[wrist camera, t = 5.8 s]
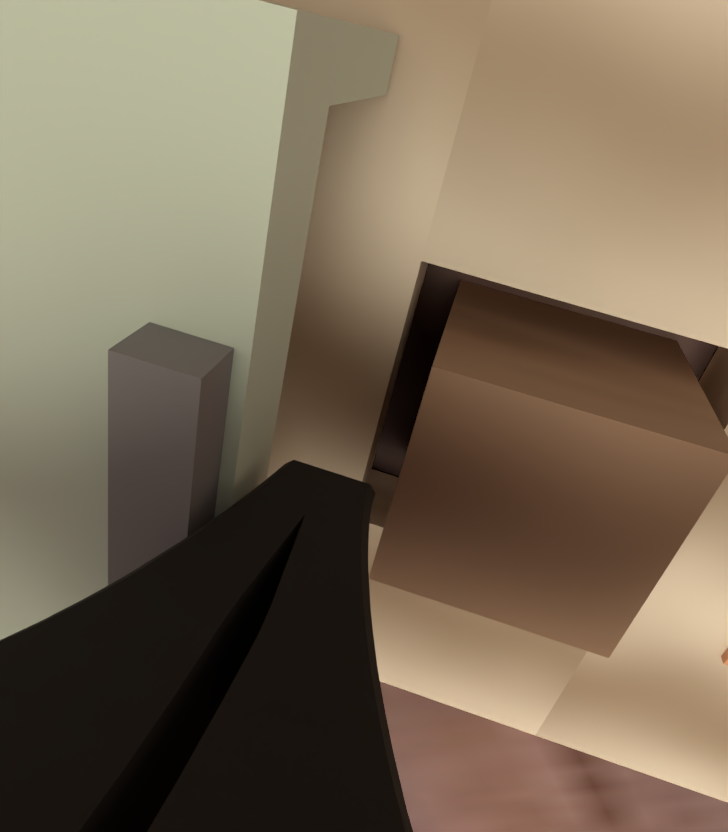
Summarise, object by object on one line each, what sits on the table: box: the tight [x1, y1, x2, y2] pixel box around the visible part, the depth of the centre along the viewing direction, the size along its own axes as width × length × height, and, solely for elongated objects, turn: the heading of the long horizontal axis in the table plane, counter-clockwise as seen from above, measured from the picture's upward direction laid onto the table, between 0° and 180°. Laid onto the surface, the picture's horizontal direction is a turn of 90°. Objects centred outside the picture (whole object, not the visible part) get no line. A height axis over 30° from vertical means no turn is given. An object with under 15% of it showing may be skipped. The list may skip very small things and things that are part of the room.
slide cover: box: [0, 0, 399, 640], centre depth 10 cm, size 12×8×6 cm, turn 167°
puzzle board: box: [264, 0, 728, 802], centre depth 13 cm, size 16×26×2 cm, turn 77°
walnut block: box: [369, 280, 728, 658], centre depth 12 cm, size 4×4×4 cm
